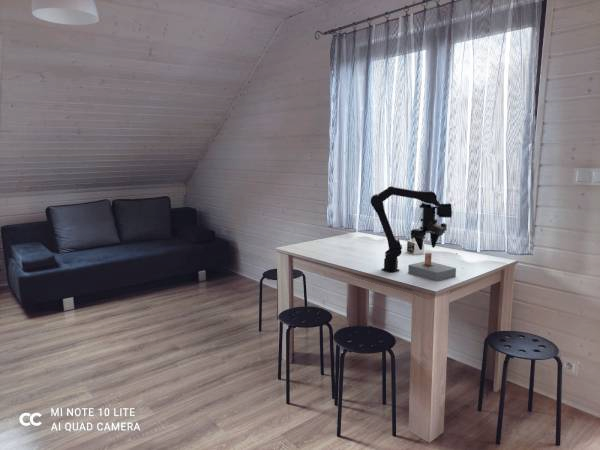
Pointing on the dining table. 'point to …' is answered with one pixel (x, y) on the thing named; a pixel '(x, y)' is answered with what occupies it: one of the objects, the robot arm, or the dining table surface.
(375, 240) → the dining table surface
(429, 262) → the terracotta peg
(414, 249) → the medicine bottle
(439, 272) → the hole block
